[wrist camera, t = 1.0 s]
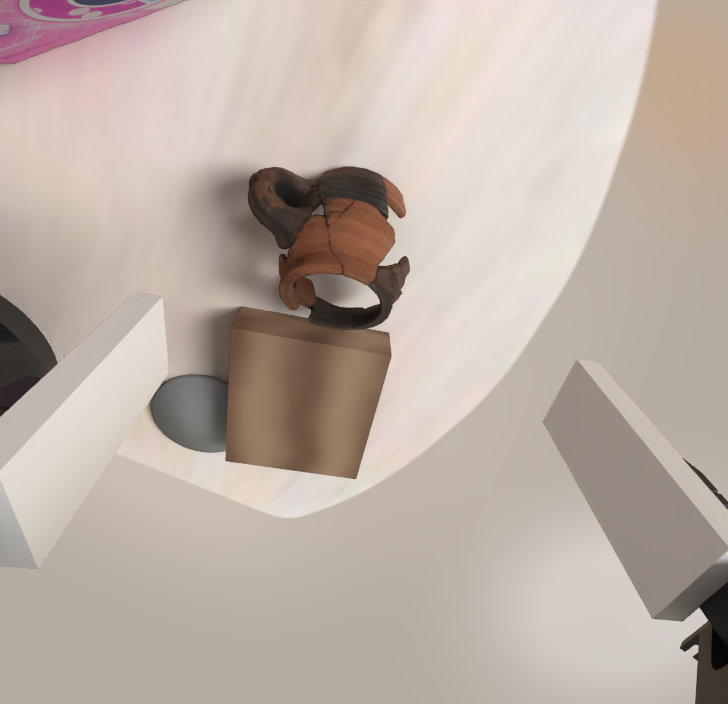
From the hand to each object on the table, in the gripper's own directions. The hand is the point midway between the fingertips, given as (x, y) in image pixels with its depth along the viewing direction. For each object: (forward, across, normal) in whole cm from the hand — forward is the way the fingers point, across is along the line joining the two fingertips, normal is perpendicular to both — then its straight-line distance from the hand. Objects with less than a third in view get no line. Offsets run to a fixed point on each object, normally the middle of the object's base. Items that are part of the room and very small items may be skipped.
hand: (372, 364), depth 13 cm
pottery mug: (+20, -2, +1) cm, 20 cm away
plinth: (+19, -2, -16) cm, 25 cm away
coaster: (+19, -12, -21) cm, 30 cm away
